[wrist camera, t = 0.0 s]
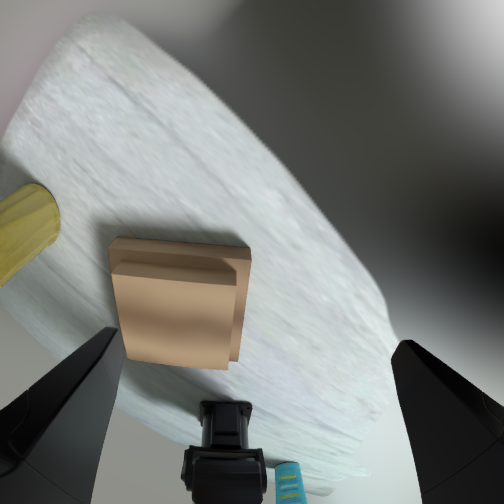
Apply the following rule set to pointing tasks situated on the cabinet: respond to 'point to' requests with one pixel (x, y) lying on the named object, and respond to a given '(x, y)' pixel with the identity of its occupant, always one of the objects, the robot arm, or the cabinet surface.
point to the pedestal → (180, 300)
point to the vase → (26, 227)
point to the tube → (289, 484)
